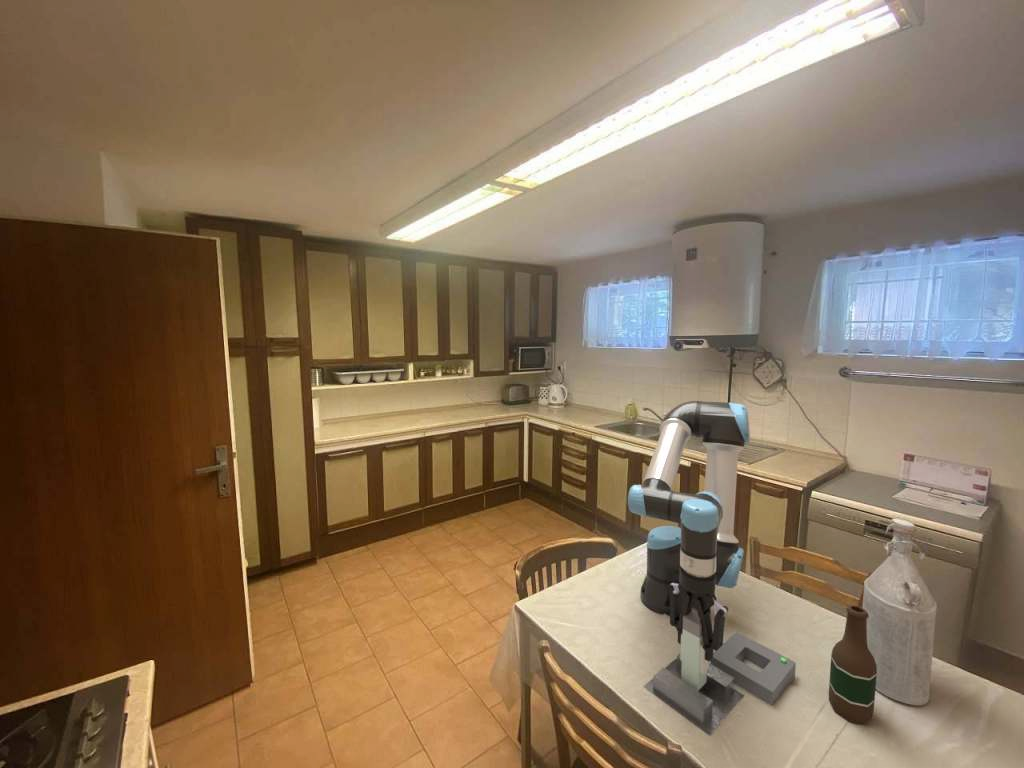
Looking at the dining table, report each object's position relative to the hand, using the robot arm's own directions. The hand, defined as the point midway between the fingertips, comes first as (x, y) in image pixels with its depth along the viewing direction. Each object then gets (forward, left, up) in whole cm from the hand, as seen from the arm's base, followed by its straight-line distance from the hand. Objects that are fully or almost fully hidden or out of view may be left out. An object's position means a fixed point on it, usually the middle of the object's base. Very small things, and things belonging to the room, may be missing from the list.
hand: (694, 664), depth 97 cm
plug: (0, 0, -4) cm, 4 cm away
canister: (+28, +41, -8) cm, 50 cm away
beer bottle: (+24, +23, -8) cm, 34 cm away
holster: (0, 0, -7) cm, 7 cm away
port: (+6, +17, -7) cm, 19 cm away
